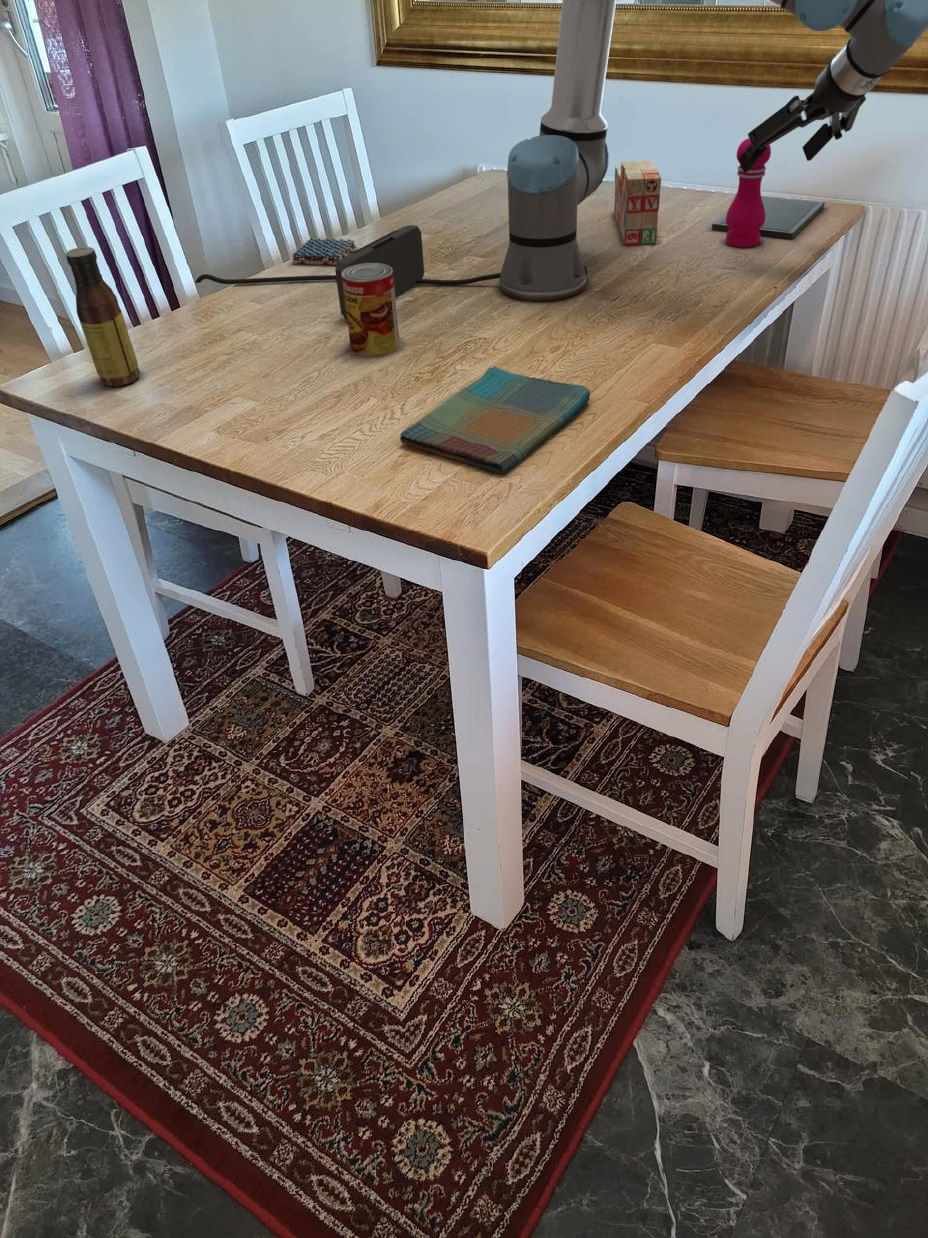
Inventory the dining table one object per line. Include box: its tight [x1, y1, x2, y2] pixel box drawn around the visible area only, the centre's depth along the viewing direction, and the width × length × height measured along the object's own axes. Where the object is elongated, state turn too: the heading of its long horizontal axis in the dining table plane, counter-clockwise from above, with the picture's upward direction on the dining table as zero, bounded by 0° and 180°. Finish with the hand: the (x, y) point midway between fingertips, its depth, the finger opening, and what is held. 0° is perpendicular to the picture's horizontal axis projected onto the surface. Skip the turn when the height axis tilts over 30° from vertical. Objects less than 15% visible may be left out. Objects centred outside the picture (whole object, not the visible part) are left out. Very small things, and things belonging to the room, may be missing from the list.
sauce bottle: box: [65, 246, 141, 387], centre depth 144 cm, size 7×6×20 cm
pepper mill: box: [725, 137, 772, 248], centre depth 180 cm, size 7×7×20 cm
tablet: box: [711, 195, 826, 241], centre depth 196 cm, size 22×16×1 cm
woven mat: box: [291, 238, 357, 266], centre depth 191 cm, size 10×11×2 cm
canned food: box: [341, 263, 401, 357], centre depth 152 cm, size 8×8×12 cm
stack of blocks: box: [613, 159, 662, 246], centre depth 193 cm, size 21×6×12 cm, turn 179°
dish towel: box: [399, 365, 591, 474], centre depth 132 cm, size 17×23×2 cm
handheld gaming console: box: [334, 224, 425, 320], centre depth 169 cm, size 23×3×10 cm, turn 149°
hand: (774, 159), depth 172 cm, fingers open, 13 cm apart
